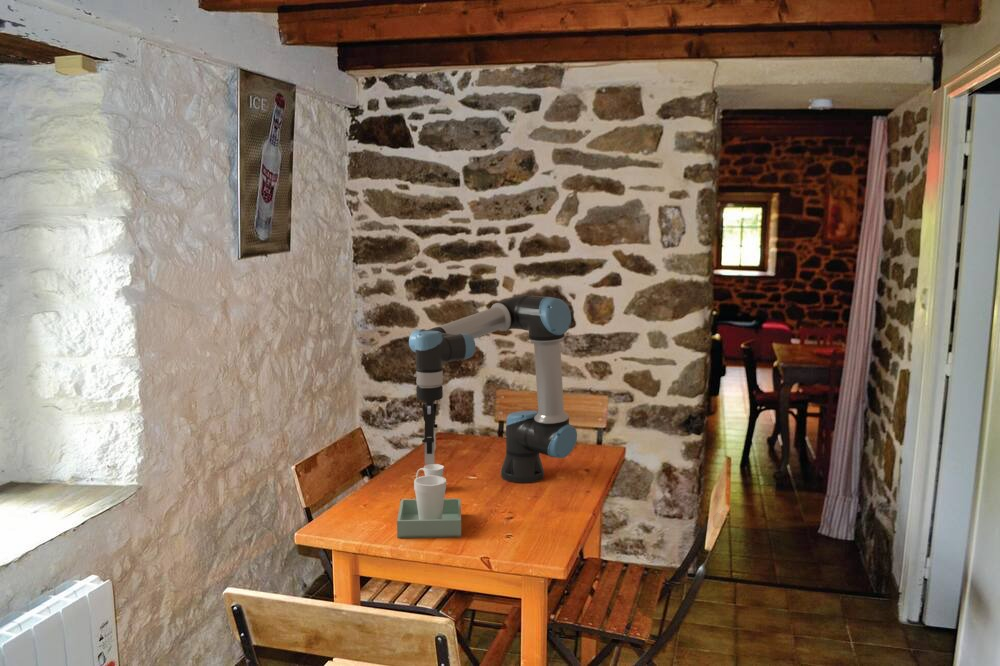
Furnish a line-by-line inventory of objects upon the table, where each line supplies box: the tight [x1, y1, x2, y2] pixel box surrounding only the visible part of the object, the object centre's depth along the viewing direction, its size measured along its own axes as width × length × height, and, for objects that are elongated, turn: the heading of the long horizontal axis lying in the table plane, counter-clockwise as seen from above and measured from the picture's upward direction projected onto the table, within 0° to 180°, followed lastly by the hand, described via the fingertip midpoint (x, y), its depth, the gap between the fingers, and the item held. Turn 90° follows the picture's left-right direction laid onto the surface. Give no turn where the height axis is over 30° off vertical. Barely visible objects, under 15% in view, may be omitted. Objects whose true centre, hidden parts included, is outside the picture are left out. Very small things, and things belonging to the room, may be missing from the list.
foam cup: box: [413, 475, 447, 520], centre depth 236 cm, size 10×9×13 cm
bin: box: [396, 498, 462, 539], centre depth 236 cm, size 18×18×5 cm
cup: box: [415, 463, 445, 479], centre depth 267 cm, size 7×10×8 cm
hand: (430, 457), depth 234 cm, fingers open, 13 cm apart
